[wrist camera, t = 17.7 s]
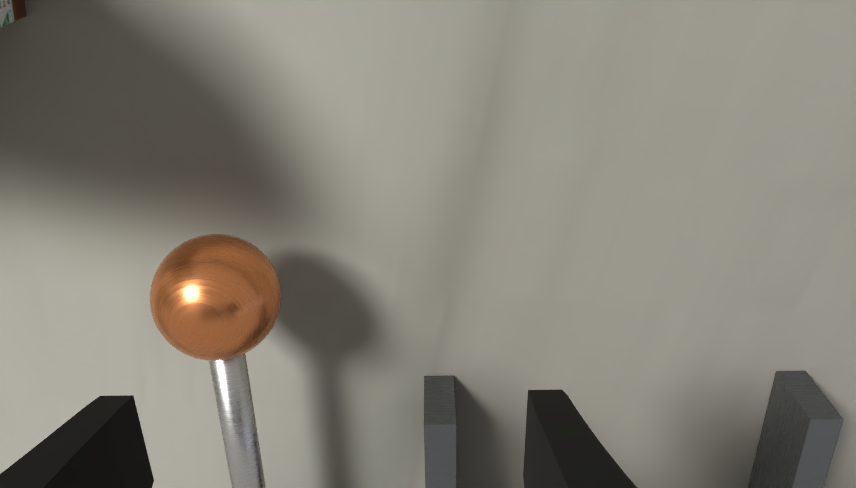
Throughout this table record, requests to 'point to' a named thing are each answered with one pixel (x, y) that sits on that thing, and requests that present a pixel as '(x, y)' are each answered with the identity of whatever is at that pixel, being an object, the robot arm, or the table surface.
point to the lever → (221, 330)
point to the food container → (11, 11)
